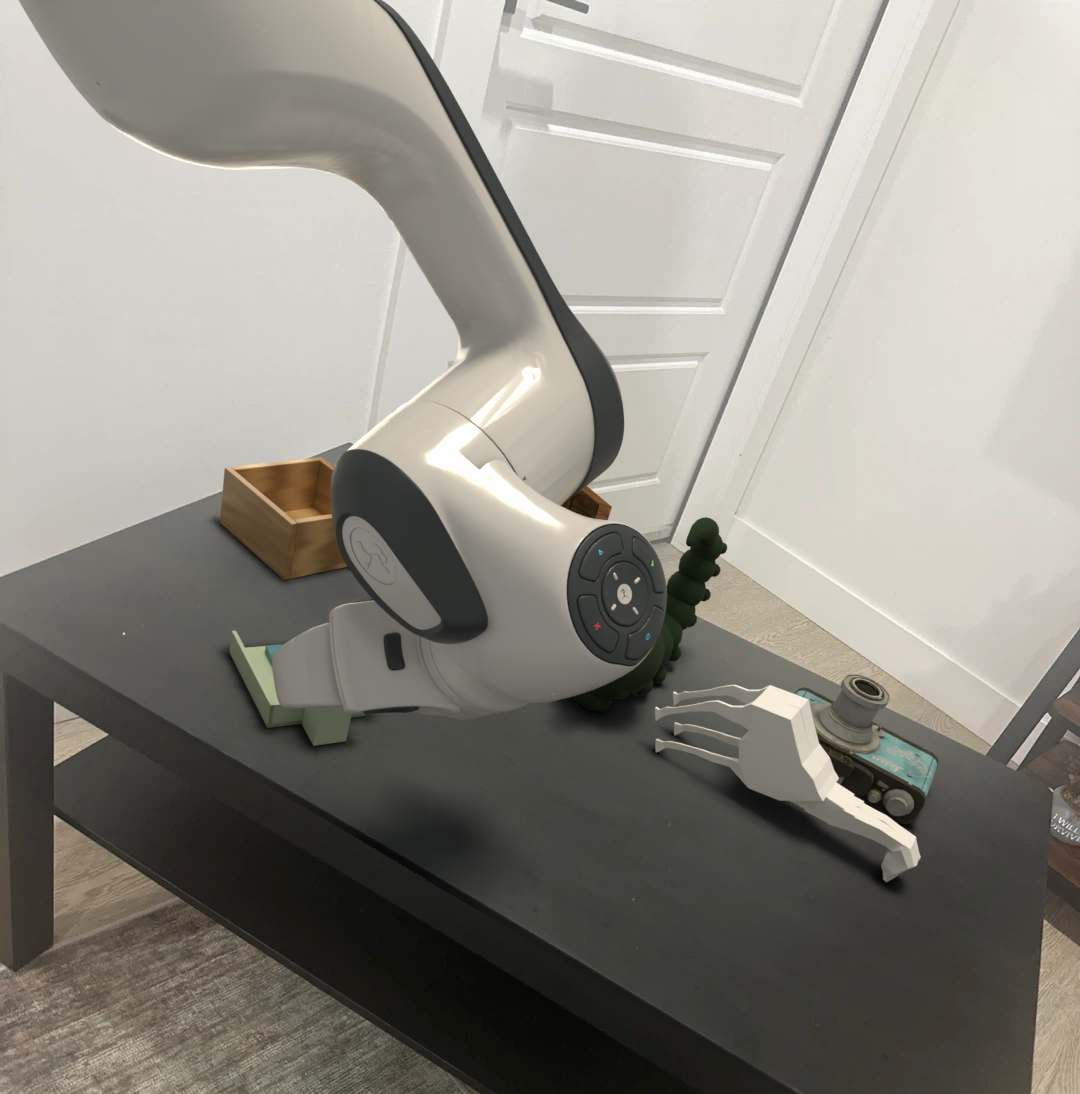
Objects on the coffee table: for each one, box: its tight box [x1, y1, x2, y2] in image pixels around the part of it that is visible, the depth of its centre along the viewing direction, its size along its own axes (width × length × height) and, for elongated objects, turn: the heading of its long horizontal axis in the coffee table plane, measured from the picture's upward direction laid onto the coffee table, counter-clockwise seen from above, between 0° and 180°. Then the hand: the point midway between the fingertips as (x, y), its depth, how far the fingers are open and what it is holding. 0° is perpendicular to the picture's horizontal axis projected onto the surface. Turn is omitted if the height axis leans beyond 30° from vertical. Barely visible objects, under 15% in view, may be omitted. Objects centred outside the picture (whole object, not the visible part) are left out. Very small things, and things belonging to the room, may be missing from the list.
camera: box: [794, 673, 939, 825], centre depth 100 cm, size 16×10×10 cm
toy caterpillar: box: [572, 516, 728, 713], centre depth 99 cm, size 9×19×25 cm
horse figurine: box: [654, 684, 922, 883], centre depth 92 cm, size 5×16×25 cm
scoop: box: [229, 630, 367, 747], centre depth 85 cm, size 14×9×10 cm, turn 30°
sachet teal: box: [265, 643, 285, 665], centre depth 90 cm, size 4×3×1 cm
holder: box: [219, 456, 348, 581], centre depth 107 cm, size 12×12×7 cm
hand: (383, 678), depth 73 cm, fingers open, 8 cm apart
